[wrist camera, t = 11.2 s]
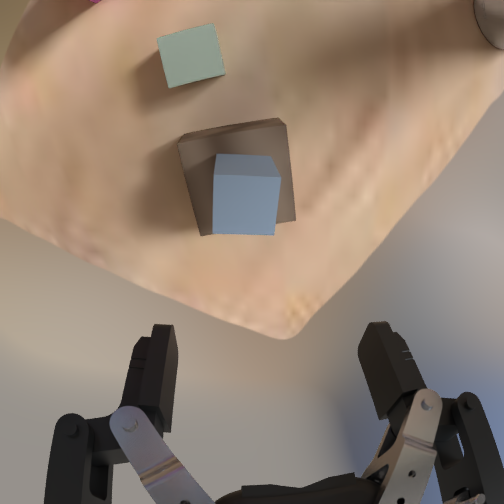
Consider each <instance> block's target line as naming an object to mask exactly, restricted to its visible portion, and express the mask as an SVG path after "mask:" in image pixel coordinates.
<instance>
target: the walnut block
mask: <svg viewBox="0 0 504 504" xmlns="http://www.w3.org/2000/svg"><path fill="white" fill-rule="evenodd" d="M177 146H178V150H179V154H180V158H181V162H182V166H183V171H184V175H185V179H186V183H187V186H188V190H189V194H190V198H191V202H192V206H193V210H194V213H195V217H196V221H197V225H198V228H199V232H200V236H205V235H211V234H213V182H214V169H215V162H216V155H217V154H239V155H259V156H271V157H272V159H273V162H274V164H275V166H276V168H277V170H278V172H279V174H280V176H281V184H280V192H279V200H278V208H277V216H276V224H277V223H284V222H290V221H296V214H295V203H294V193H293V182H292V173H291V163H290V154H289V146H288V137H287V129H286V124H284V123H283V122H282V121H281V120H280V119H279V118H272V119H265V120H258V121H251V122H245V123H239V124H233V125H227V126H221V127H216V128H211V129H206V130H201V131H196V132H191V133H187V134H184V135H183V136H182V138H181V139H180V141H179V142H178V143H177Z"/></svg>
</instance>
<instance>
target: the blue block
mask: <svg viewBox="0 0 504 504" xmlns="http://www.w3.org/2000/svg"><path fill="white" fill-rule="evenodd" d="M280 184H281V176H280V174H279V172H278V170H277V168H276V166H275V164H274V162H273V159H272V157H271V156H259V155H239V154H217V155H216V162H215V169H214V182H213V234H247V235H274V232H275V224H276V216H277V208H278V200H279V192H280Z"/></svg>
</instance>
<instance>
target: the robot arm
mask: <svg viewBox="0 0 504 504" xmlns="http://www.w3.org/2000/svg"><path fill="white" fill-rule="evenodd" d="M474 10H475V15H476V19H477V22H478V25H479V27H480V29H481V31H482V32H483V34H484V36H485V37H486V38H487V40H488V41H489V42H490V43H491V44H492V45H493V46H495V47H496V48H499V49H503V50H504V0H475V1H474ZM358 358H359V361H360V364H361V366H362V369H363V372H364V375H365V378H366V381H367V384H368V387H369V390H370V393H371V396H372V399H373V402H374V405H375V408H376V412H377V415H378V418H379V420H383V419H387V418H388V419H389V422H390V423H389V424H388V426H387V428H386V430H385V433H384V435H383V437H382V440H381V443H380V445H379V447H378V449H377V451H376V454H375V456H374V458H373V460H372V462H371V463H370V465H369V466H368V467H367V468H366V470H365V471H364V473H363V474H362V476H361V478H358V477H355V474H354V472H353V473H348V474H344V475H339V476H333V477H328V478H326V479H323V480H321V481H319V482H316V483H313V484H311V485H308V486H306V487H303V488H296V487H286V486H279V485H272V484H268V485H249V486H242V487H241V490H238V491H235V492H232V493H229V494H227V495H225V496H223V497H221V498H219V499H218V500H216V501H215V502H214V501H213V500H212V499H211V498H210V497H209V496H208V494H207V493H206V492H205V491H204V490H203V489H202V488H201V486H200V485H199V484H198V483H197V482H196V481H195V480H194V478H193V477H192V476H191V474H190V473H189V472H188V471H187V470H186V468H185V467H184V466H183V465H182V463H181V462H180V461H179V460H178V459H177V458H176V457H175V456H174V454H173V453H172V452H171V450H170V449H169V447H168V446H167V445H166V443H165V442H164V441H163V432H169V433H170V432H171V425H172V413H173V403H174V392H175V384H176V375H177V367H178V347H177V342H176V336H175V332H174V326H173V325H162V324H154V326H153V330H152V334H151V337H141V338H140V339H139V341H138V342H137V343H136V344H135V346H134V349H133V353H132V356H131V361H130V365H129V369H128V373H127V378H126V382H125V387H124V391H123V396H122V400H121V404H120V406H119V407H118V409H117V410H116V411H115V412H114V413H112V414H110V415H109V416H106V417H100V418H94V419H86V420H85V419H84V418H83V417H81V416H80V415H78V414H74V413H71V414H66V415H64V416H62V417H61V418H60V419H59V420H58V421H57V423H56V426H55V430H54V435H53V440H52V446H51V451H50V458H49V464H48V471H47V479H46V488H45V497H44V504H111V503H112V480H113V479H112V478H113V464H120V463H127V462H130V463H131V465H132V466H133V467H134V469H135V471H136V472H137V474H138V475H139V477H140V480H141V482H142V484H143V486H144V487H145V489H146V490H147V491H148V493H149V494H150V496H151V497H152V499H153V500H154V501H155V502H156V504H420V501H421V499H422V496H423V494H424V491H425V488H426V486H427V483H428V480H429V477H430V474H431V471H432V468H433V465H434V466H435V470H436V474H437V478H438V482H439V487H440V492H441V496H442V501H443V504H504V468H503V465H502V462H501V458H500V455H499V452H498V449H497V446H496V443H495V440H494V437H493V434H492V431H491V428H490V426H489V423H488V420H487V418H486V415H485V412H484V410H483V407H482V405H481V402H480V401H479V399H478V397H477V396H476V395H475V394H473V393H471V392H464V393H462V394H461V395H460V396H459V397H458V398H457V399H451V398H440V396H439V395H438V394H437V393H436V392H435V391H433V390H431V389H427V387H426V385H425V383H424V381H423V379H422V376H421V374H420V372H419V369H418V367H417V365H416V363H415V361H414V360H413V356H412V355H411V352H409V348H408V346H407V344H406V342H405V340H404V339H403V338H402V337H401V336H400V335H399V334H398V333H397V332H393V331H392V329H391V327H390V325H389V324H388V322H386V321H383V322H371V323H369V324H368V326H367V328H366V331H365V333H364V335H363V337H362V339H361V341H360V344H359V346H358ZM458 433H459V436H460V440H461V443H462V446H463V449H464V457H463V454H462V451H461V447H460V444H459V441H458V438H457V435H456V434H458Z"/></svg>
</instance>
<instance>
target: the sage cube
mask: <svg viewBox="0 0 504 504" xmlns="http://www.w3.org/2000/svg"><path fill="white" fill-rule="evenodd" d="M157 43H158V47H159V51H160V55H161V60H162V64H163V68H164V72H165V76H166V80H167V84H168V88H172V87H177V86H180V85H184V84H188V83H192V82H195V81H199V80H204V79H208V78H212V77H217V76H221V75H226V72H225V68H224V63H223V59H222V54H221V50H220V45H219V41H218V37H217V32H216V29H215V26H214V23H212V24H207V25H203V26H199V27H195V28H191V29H187V30H183V31H180V32H176V33H173V34H169V35H166V36H163V37H159V38H157Z"/></svg>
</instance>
